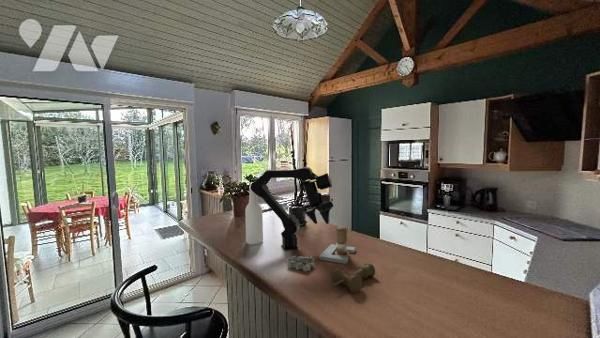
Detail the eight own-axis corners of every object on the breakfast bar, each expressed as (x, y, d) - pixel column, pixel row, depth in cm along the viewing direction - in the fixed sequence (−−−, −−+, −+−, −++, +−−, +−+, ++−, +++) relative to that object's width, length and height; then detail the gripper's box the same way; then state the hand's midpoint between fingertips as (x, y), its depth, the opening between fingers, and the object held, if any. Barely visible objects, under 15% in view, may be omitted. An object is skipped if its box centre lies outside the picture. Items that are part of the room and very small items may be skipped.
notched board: (319, 259, 118) (319, 256, 118) (331, 247, 132) (331, 244, 132) (345, 263, 112) (345, 260, 112) (355, 250, 127) (355, 247, 127)
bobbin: (340, 259, 117) (339, 230, 116) (332, 254, 123) (331, 227, 122) (352, 256, 120) (351, 228, 119) (343, 251, 126) (343, 224, 125)
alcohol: (261, 238, 147) (260, 184, 145) (264, 244, 139) (263, 186, 137) (245, 240, 145) (243, 185, 142) (247, 246, 136) (245, 187, 134)
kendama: (381, 281, 98) (344, 300, 86) (360, 273, 106) (323, 289, 93) (381, 265, 98) (344, 281, 86) (360, 258, 106) (323, 272, 93)
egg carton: (316, 266, 112) (316, 256, 111) (307, 273, 105) (306, 263, 105) (295, 260, 118) (295, 251, 117) (285, 267, 111) (284, 257, 111)
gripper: (336, 185, 125) (346, 217, 125) (313, 189, 141) (322, 218, 141) (318, 192, 119) (329, 226, 119) (296, 196, 135) (306, 225, 135)
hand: (321, 223), depth 129 cm, fingers open, 9 cm apart
